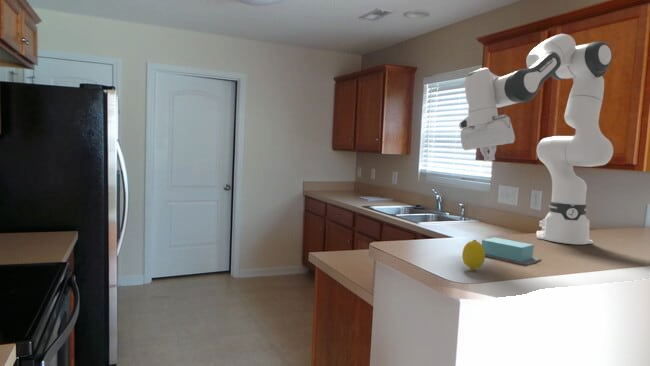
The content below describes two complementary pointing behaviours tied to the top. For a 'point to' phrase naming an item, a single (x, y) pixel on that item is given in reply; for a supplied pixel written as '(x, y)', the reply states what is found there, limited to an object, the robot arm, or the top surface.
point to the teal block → (508, 249)
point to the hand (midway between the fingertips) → (489, 160)
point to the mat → (525, 262)
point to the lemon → (473, 255)
